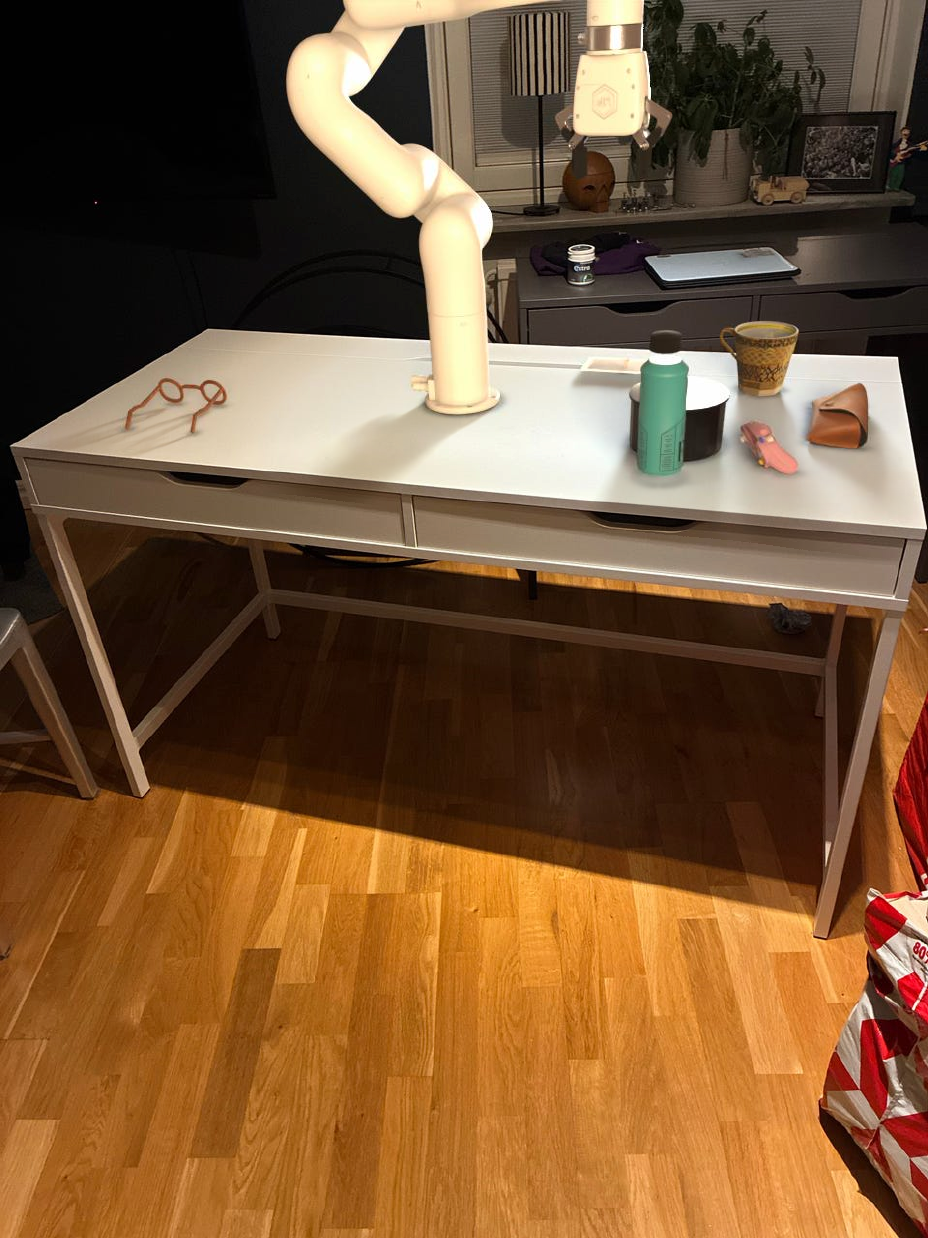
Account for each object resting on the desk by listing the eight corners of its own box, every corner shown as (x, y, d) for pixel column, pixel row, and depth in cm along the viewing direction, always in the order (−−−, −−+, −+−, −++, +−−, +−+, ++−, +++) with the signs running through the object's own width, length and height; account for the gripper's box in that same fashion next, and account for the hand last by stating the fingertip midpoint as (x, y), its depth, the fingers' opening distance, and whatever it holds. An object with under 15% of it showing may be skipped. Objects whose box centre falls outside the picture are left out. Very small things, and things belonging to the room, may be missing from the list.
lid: (622, 414, 132) (623, 389, 131) (635, 381, 144) (636, 358, 142) (726, 419, 129) (728, 394, 127) (731, 385, 140) (733, 361, 138)
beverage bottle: (682, 487, 127) (693, 340, 117) (633, 485, 129) (639, 340, 118) (683, 467, 133) (693, 325, 122) (635, 466, 134) (641, 325, 123)
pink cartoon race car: (747, 459, 138) (730, 420, 134) (776, 443, 137) (759, 404, 133) (771, 487, 129) (754, 447, 126) (802, 471, 128) (785, 430, 125)
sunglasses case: (808, 398, 151) (836, 364, 147) (844, 422, 151) (874, 389, 147) (804, 442, 137) (836, 405, 132) (845, 468, 137) (877, 432, 133)
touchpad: (663, 381, 163) (664, 368, 162) (579, 376, 168) (579, 364, 167) (670, 366, 169) (671, 354, 168) (589, 362, 174) (589, 350, 173)
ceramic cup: (800, 386, 158) (809, 326, 152) (774, 403, 151) (782, 342, 146) (729, 373, 165) (735, 315, 159) (701, 389, 159) (706, 330, 153)
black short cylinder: (623, 459, 136) (625, 409, 132) (636, 425, 147) (638, 378, 143) (718, 465, 133) (723, 414, 129) (724, 429, 144) (728, 381, 140)
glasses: (230, 406, 165) (224, 378, 162) (193, 434, 154) (186, 405, 152) (164, 403, 168) (158, 375, 166) (123, 430, 158) (116, 401, 155)
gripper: (544, 45, 129) (545, 181, 138) (664, 39, 121) (657, 184, 130) (568, 42, 134) (568, 173, 143) (685, 36, 126) (676, 175, 135)
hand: (610, 178), depth 137 cm, fingers open, 9 cm apart
